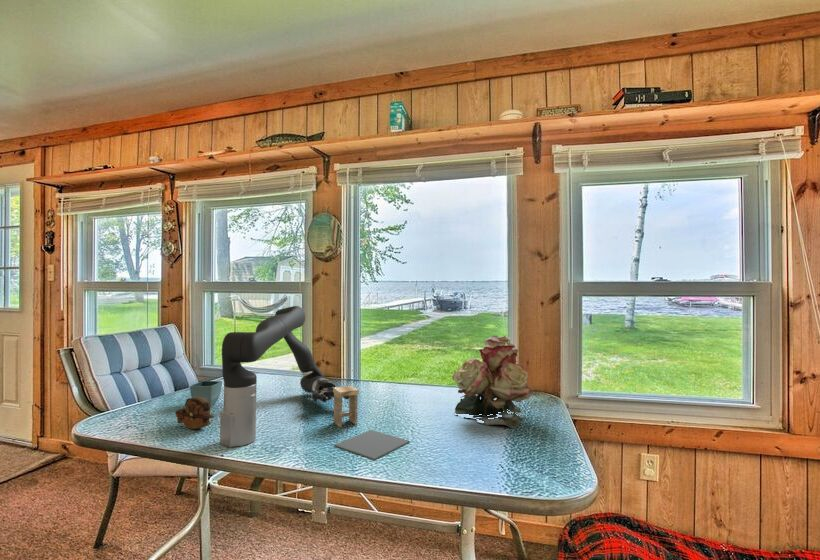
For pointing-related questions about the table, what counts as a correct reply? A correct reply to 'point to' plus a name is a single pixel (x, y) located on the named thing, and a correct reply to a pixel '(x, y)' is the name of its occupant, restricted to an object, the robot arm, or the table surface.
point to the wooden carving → (195, 413)
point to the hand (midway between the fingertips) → (336, 398)
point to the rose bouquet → (493, 383)
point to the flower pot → (207, 390)
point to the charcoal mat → (372, 444)
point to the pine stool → (338, 395)
